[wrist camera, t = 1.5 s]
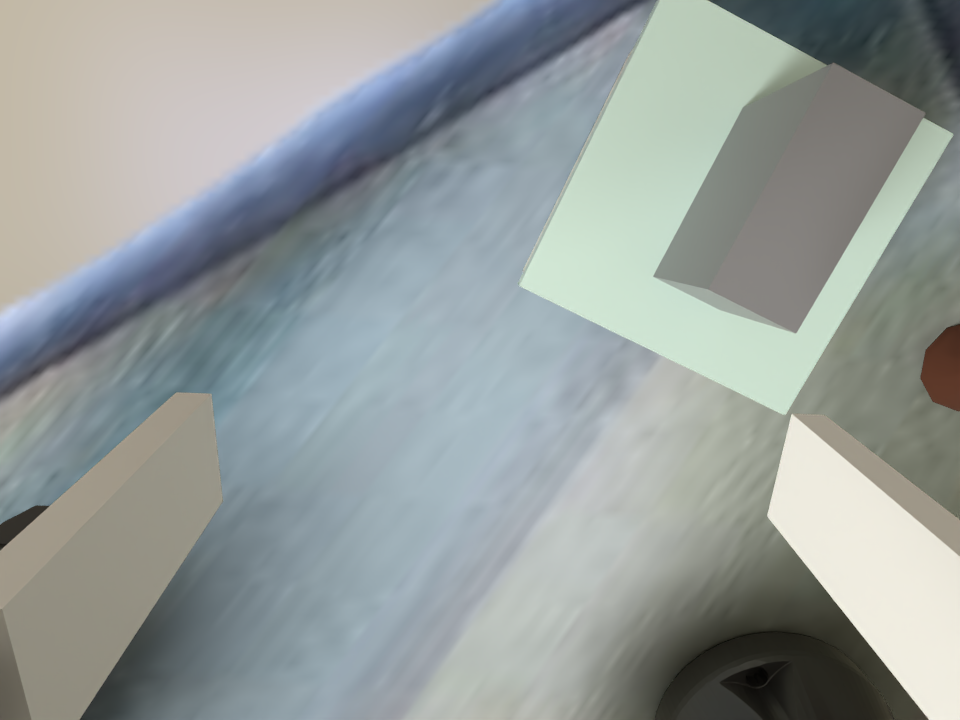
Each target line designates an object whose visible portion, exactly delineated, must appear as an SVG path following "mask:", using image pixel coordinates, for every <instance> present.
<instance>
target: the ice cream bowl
mask: <svg viewBox="0 0 960 720" xmlns="http://www.w3.org/2000/svg"><path fill="white" fill-rule="evenodd" d="M921 380H922V382H923V384H924V386H925V388H926V390H927V392H928V393H929V395H930V397H931V399H932V401H933V402H935V403H938V404H940V405H943V406H946V407H948V408H951V409H953V410H956V411H960V325H956V326H952V327H948V328H947V329H946V330H945V331H944V332H943V333H942V334H941V335H940V336H939V337H938V338H937V339H936V340H935V341H934V342H933V343H932V344H931V345H930V346H929V347H928V348H927V349H926V352H925V357H924V362H923V368H922V373H921Z"/></svg>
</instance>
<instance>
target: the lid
mask: <svg viewBox="0 0 960 720" xmlns="http://www.w3.org/2000/svg"><path fill="white" fill-rule="evenodd" d="M925 114H926V113H925V112H923V111H921V110H920V109H918V108H916V107H914V106H912V105H910V104H909V103H907V102H905V101H903V100H901V99H899V98H898V97H896V96H894V95H892V94H890V93H888V92H887V91H885V90H883V89H881V88H879V87H877V86H876V85H874V84H872V83H870V82H868V81H866V80H865V79H863V78H861V77H859V76H857V75H855V74H854V73H852V72H850V71H848V70H846V69H844V68H843V67H841V66H839V65H837V64H835V63H832V64H830V65H828V66H827V65H826V64H824V63H822V62H820V61H818V60H816V59H815V58H813V57H811V56H809V55H807V54H805V53H804V52H802V51H800V50H798V49H796V48H794V47H793V46H791V45H789V44H787V43H785V42H783V41H782V40H780V39H778V38H776V37H774V36H772V35H771V34H769V33H767V32H765V31H763V30H761V29H760V28H758V27H756V26H754V25H752V24H750V23H749V22H747V21H745V20H743V19H741V18H739V17H737V16H736V15H734V14H732V13H730V12H728V11H726V10H725V9H723V8H721V7H719V6H717V5H715V4H714V3H712V2H710V1H708V0H657V1H656V4H655V6H654V8H653V10H652V12H651V14H650V16H649V18H648V20H647V22H646V24H645V26H644V28H643V30H642V32H641V34H640V36H639V38H638V40H637V42H636V44H635V46H634V48H633V50H632V52H631V54H630V56H629V58H628V60H627V62H626V64H625V67H624V69H623V71H622V73H621V75H620V77H619V79H618V81H617V83H616V85H615V87H614V89H613V91H612V93H611V95H610V97H609V99H608V101H607V103H606V105H605V107H604V109H603V111H602V113H601V115H600V117H599V119H598V121H597V123H596V125H595V128H594V130H593V132H592V134H591V136H590V138H589V140H588V142H587V144H586V146H585V148H584V150H583V152H582V154H581V156H580V158H579V160H578V162H577V164H576V166H575V168H574V170H573V172H572V174H571V176H570V178H569V180H568V182H567V184H566V186H565V189H564V191H563V193H562V195H561V197H560V199H559V201H558V203H557V205H556V207H555V209H554V211H553V213H552V215H551V217H550V219H549V221H548V223H547V225H546V227H545V229H544V231H543V233H542V235H541V237H540V239H539V241H538V243H537V245H536V247H535V250H534V252H533V254H532V256H531V258H530V260H529V262H528V264H527V266H526V268H525V270H524V272H523V274H522V276H521V278H520V280H519V282H518V285H519V286H520V287H522V288H524V289H526V290H528V291H530V292H533V293H535V294H537V295H539V296H541V297H543V298H545V299H547V300H549V301H551V302H553V303H555V304H557V305H559V306H561V307H563V308H565V309H567V310H569V311H572V312H574V313H576V314H578V315H580V316H582V317H584V318H586V319H588V320H590V321H592V322H594V323H596V324H598V325H600V326H602V327H604V328H606V329H608V330H610V331H613V332H615V333H617V334H619V335H621V336H623V337H625V338H627V339H629V340H631V341H633V342H635V343H637V344H639V345H641V346H643V347H645V348H647V349H649V350H652V351H654V352H656V353H658V354H660V355H662V356H664V357H666V358H668V359H670V360H672V361H674V362H676V363H678V364H680V365H682V366H684V367H686V368H688V369H691V370H693V371H695V372H697V373H699V374H701V375H703V376H705V377H707V378H709V379H711V380H713V381H715V382H717V383H719V384H721V385H723V386H725V387H727V388H730V389H732V390H734V391H736V392H738V393H740V394H742V395H744V396H746V397H748V398H750V399H752V400H754V401H756V402H758V403H760V404H762V405H764V406H766V407H769V408H771V409H773V410H775V411H777V412H779V413H781V414H783V415H786V413H787V411H788V410H789V408H790V406H791V405H792V403H793V401H794V400H795V398H796V396H797V395H798V393H799V391H800V390H801V388H802V386H803V385H804V383H805V381H806V380H807V378H808V376H809V375H810V373H811V371H812V370H813V368H814V366H815V365H816V363H817V361H818V360H819V358H820V356H821V355H822V353H823V351H824V350H825V348H826V346H827V345H828V343H829V341H830V340H831V338H832V336H833V335H834V333H835V331H836V330H837V328H838V326H839V325H840V323H841V321H842V320H843V318H844V316H845V315H846V313H847V311H848V310H849V308H850V306H851V305H852V303H853V301H854V300H855V298H856V296H857V295H858V293H859V291H860V290H861V288H862V286H863V285H864V283H865V281H866V280H867V278H868V276H869V275H870V273H871V271H872V270H873V268H874V266H875V265H876V263H877V261H878V260H879V258H880V256H881V255H882V253H883V251H884V250H885V248H886V246H887V245H888V243H889V241H890V240H891V238H892V236H893V235H894V233H895V231H896V230H897V228H898V226H899V225H900V223H901V221H902V220H903V218H904V216H905V215H906V213H907V211H908V210H909V208H910V206H911V205H912V203H913V201H914V200H915V198H916V196H917V195H918V193H919V191H920V190H921V188H922V186H923V185H924V183H925V181H926V180H927V178H928V176H929V175H930V173H931V171H932V170H933V168H934V166H935V165H936V163H937V161H938V160H939V158H940V156H941V155H942V153H943V151H944V150H945V148H946V146H947V145H948V143H949V141H950V140H951V138H952V136H953V135H954V134H952V133H951V132H949V131H947V130H945V129H943V128H941V127H940V126H938V125H936V124H934V123H932V122H930V121H929V120H927V119H925V118H923V117H924V116H925Z"/></svg>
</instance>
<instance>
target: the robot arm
mask: <svg viewBox="0 0 960 720" xmlns="http://www.w3.org/2000/svg"><path fill="white" fill-rule="evenodd" d="M222 502H223V497H222V488H221V479H220V469H219V460H218V451H217V441H216V432H215V422H214V413H213V404H212V394H202V393H175V394H174V395H173V396H172V397H171V398H170V399H169V400H167V401H166V402H165V403H164V404H163V405H162V406H161V407H160V408H159V409H157V410H156V411H155V412H154V413H153V414H152V415H151V416H150V417H148V418H147V419H146V420H145V421H144V422H143V423H142V424H141V425H140V426H138V427H137V428H136V429H135V430H134V431H133V432H132V433H131V434H130V435H128V436H127V437H126V438H125V439H124V440H123V441H122V442H121V443H120V444H118V445H117V446H116V447H115V448H114V449H113V450H112V451H111V452H110V453H108V454H107V455H106V456H105V457H104V458H103V459H102V460H101V461H99V462H98V463H97V464H96V465H95V466H94V467H93V468H92V469H91V470H89V471H88V472H87V473H86V474H85V475H84V476H83V477H82V478H81V479H79V480H78V481H77V482H76V483H75V484H74V485H73V486H72V487H71V488H69V489H68V490H67V491H66V492H65V493H64V494H63V495H62V496H60V497H59V498H58V499H57V500H56V501H55V502H54V503H53V504H52V505H50V506H34V507H32V508H30V509H28V510H26V511H24V512H22V513H21V514H19V515H17V516H15V517H13V518H11V519H9V520H7V521H5V522H3V523H2V524H1V525H0V720H80V718H81V717H82V715H83V714H84V712H85V711H86V709H87V708H88V706H89V704H90V703H91V701H92V700H93V698H94V697H95V695H96V694H97V692H98V691H99V689H100V688H101V686H102V685H103V683H104V682H105V680H106V679H107V677H108V676H109V674H110V672H111V671H112V669H113V668H114V666H115V665H116V663H117V662H118V660H119V659H120V657H121V656H122V654H123V653H124V651H125V650H126V648H127V647H128V645H129V644H130V642H131V641H132V639H133V637H134V636H135V634H136V633H137V631H138V630H139V628H140V627H141V625H142V624H143V622H144V621H145V619H146V618H147V616H148V615H149V613H150V612H151V610H152V609H153V607H154V605H155V604H156V602H157V601H158V599H159V598H160V596H161V595H162V593H163V592H164V590H165V589H166V587H167V586H168V584H169V583H170V581H171V580H172V578H173V577H174V575H175V573H176V572H177V570H178V569H179V567H180V566H181V564H182V563H183V561H184V560H185V558H186V557H187V555H188V554H189V552H190V551H191V549H192V548H193V546H194V545H195V543H196V541H197V540H198V538H199V537H200V535H201V534H202V532H203V531H204V529H205V528H206V526H207V525H208V523H209V522H210V520H211V519H212V517H213V516H214V514H215V513H216V511H217V509H218V508H219V506H220V505H221V503H222ZM767 517H768V518H769V519H770V520H771V522H772V523H773V524H774V525H775V527H776V528H777V529H778V530H779V532H780V533H781V534H782V536H783V537H784V538H785V539H786V541H787V542H788V543H789V544H790V546H791V547H792V548H793V549H794V551H795V552H796V553H797V554H798V556H799V557H800V558H801V559H802V561H803V562H804V563H805V564H806V566H807V567H808V568H809V569H810V571H811V572H812V573H813V574H814V576H815V577H816V578H817V579H818V581H819V582H820V583H821V585H822V586H823V587H824V588H825V590H826V591H827V592H828V593H829V595H830V596H831V597H832V598H833V600H834V601H835V602H836V603H837V605H838V606H839V607H840V608H841V610H842V611H843V612H844V613H845V615H846V616H847V617H848V618H849V620H850V621H851V622H852V623H853V625H854V626H855V627H856V628H857V630H858V631H859V632H860V634H861V635H862V636H863V637H864V639H865V640H866V641H867V642H868V644H869V645H870V646H871V647H872V649H873V650H874V651H875V652H876V654H877V655H878V656H879V657H880V659H881V660H882V661H883V662H884V664H885V665H886V666H887V667H888V669H889V670H890V671H891V672H892V674H893V675H894V676H895V677H896V679H897V680H898V681H899V683H900V684H901V685H902V686H903V688H904V689H905V690H906V691H907V693H908V694H909V695H910V696H911V698H912V699H913V700H914V701H915V703H916V704H917V705H918V706H919V708H920V709H921V710H922V711H923V713H924V714H925V715H926V716H927V718H928V719H929V720H960V520H959V519H958V518H957V517H955V516H954V515H953V514H951V513H950V512H949V511H948V510H946V509H945V508H944V507H942V506H941V505H940V504H939V503H937V502H936V501H935V500H933V499H932V498H931V497H929V496H928V495H927V494H926V493H924V492H923V491H922V490H920V489H919V488H918V487H917V486H915V485H914V484H913V483H911V482H910V481H909V480H908V479H906V478H905V477H904V476H902V475H901V474H900V473H899V472H897V471H896V470H895V469H893V468H892V467H891V466H890V465H888V464H887V463H886V462H884V461H883V460H882V459H881V458H879V457H878V456H877V455H875V454H874V453H873V452H872V451H870V450H869V449H868V448H866V447H865V446H864V445H863V444H861V443H860V442H859V441H857V440H856V439H855V438H854V437H852V436H851V435H850V434H848V433H847V432H846V431H844V430H843V429H842V428H841V427H839V426H838V425H837V424H835V423H834V422H833V421H832V420H830V419H829V418H828V417H826V416H825V415H814V414H792V415H791V419H790V423H789V428H788V432H787V436H786V440H785V444H784V448H783V453H782V457H781V461H780V465H779V469H778V473H777V478H776V482H775V486H774V490H773V494H772V498H771V503H770V507H769V511H768V515H767ZM655 720H894V718H893V715H892V713H891V711H890V709H889V707H888V705H887V704H886V702H885V700H884V699H883V697H882V696H881V694H880V693H879V691H878V690H877V689H876V688H875V686H874V685H873V684H872V683H871V682H870V681H869V679H868V678H867V677H866V676H865V675H864V674H863V672H862V671H861V670H860V669H859V668H858V667H857V666H856V665H855V664H854V663H853V662H852V661H851V660H850V659H849V658H848V657H847V656H846V655H844V654H843V653H842V652H840V651H839V650H837V649H836V648H834V647H832V646H830V645H828V644H826V643H824V642H822V641H819V640H817V639H814V638H811V637H807V636H803V635H798V634H793V633H781V632H769V633H758V634H752V635H747V636H742V637H739V638H735V639H732V640H729V641H727V642H724V643H722V644H720V645H717V646H715V647H714V648H712V649H710V650H708V651H706V652H705V653H703V654H702V655H700V656H699V657H697V658H696V659H695V660H693V661H692V662H691V663H690V664H689V665H687V666H686V667H685V668H684V669H683V670H682V671H681V672H680V673H679V674H678V676H677V677H676V678H675V679H674V680H673V682H672V683H671V684H670V686H669V687H668V689H667V691H666V692H665V694H664V696H663V698H662V700H661V702H660V705H659V707H658V710H657V713H656V717H655Z"/></svg>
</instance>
